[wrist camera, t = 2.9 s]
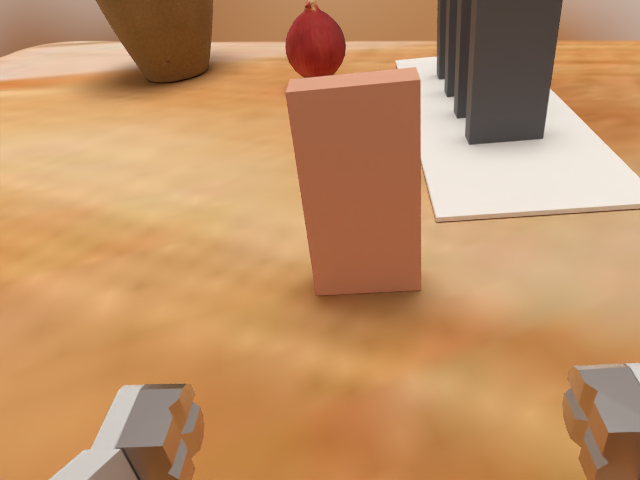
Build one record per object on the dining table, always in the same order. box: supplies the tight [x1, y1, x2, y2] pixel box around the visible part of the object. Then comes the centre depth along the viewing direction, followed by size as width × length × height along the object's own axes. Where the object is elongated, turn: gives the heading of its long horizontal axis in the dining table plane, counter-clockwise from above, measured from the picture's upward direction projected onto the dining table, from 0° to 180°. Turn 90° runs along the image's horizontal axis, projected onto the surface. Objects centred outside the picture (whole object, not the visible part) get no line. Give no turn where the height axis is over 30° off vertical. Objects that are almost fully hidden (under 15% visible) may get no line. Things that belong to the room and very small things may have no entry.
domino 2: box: [444, 0, 458, 97], centre depth 42 cm, size 5×2×10 cm, turn 87°
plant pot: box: [96, 0, 213, 82], centre depth 58 cm, size 15×15×16 cm
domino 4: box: [465, 0, 563, 145], centre depth 33 cm, size 5×2×10 cm, turn 87°
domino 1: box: [437, 0, 447, 80], centre depth 46 cm, size 5×2×10 cm, turn 87°
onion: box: [286, 0, 346, 78], centre depth 50 cm, size 6×6×8 cm
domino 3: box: [454, 0, 472, 119], centre depth 38 cm, size 5×2×10 cm, turn 87°
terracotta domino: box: [285, 67, 421, 296], centre depth 22 cm, size 5×2×10 cm, turn 87°
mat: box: [396, 57, 640, 222], centre depth 41 cm, size 12×32×1 cm, turn 177°
